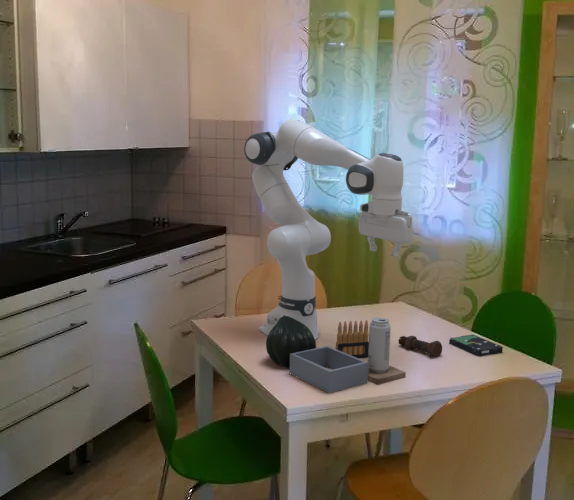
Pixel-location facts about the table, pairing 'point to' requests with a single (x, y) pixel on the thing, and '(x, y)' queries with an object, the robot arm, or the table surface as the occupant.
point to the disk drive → (476, 345)
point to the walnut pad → (385, 375)
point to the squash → (288, 340)
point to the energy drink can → (379, 345)
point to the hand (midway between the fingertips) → (383, 253)
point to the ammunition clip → (353, 340)
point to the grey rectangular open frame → (342, 376)
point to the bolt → (421, 345)
